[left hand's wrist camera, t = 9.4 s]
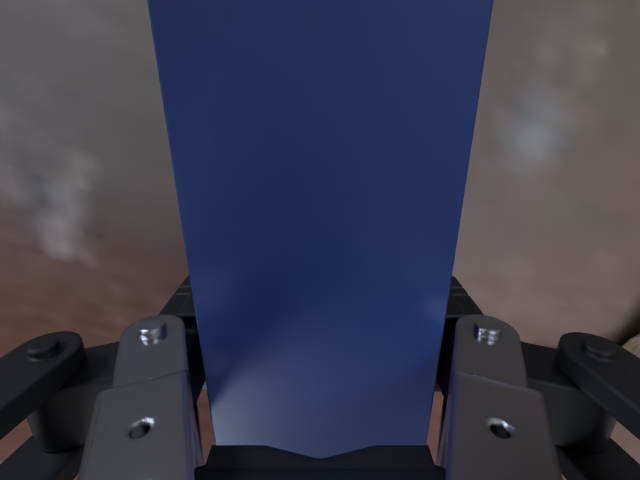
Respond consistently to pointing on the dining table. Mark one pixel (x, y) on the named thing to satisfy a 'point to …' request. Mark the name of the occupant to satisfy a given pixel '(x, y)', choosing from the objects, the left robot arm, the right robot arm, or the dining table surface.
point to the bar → (320, 205)
